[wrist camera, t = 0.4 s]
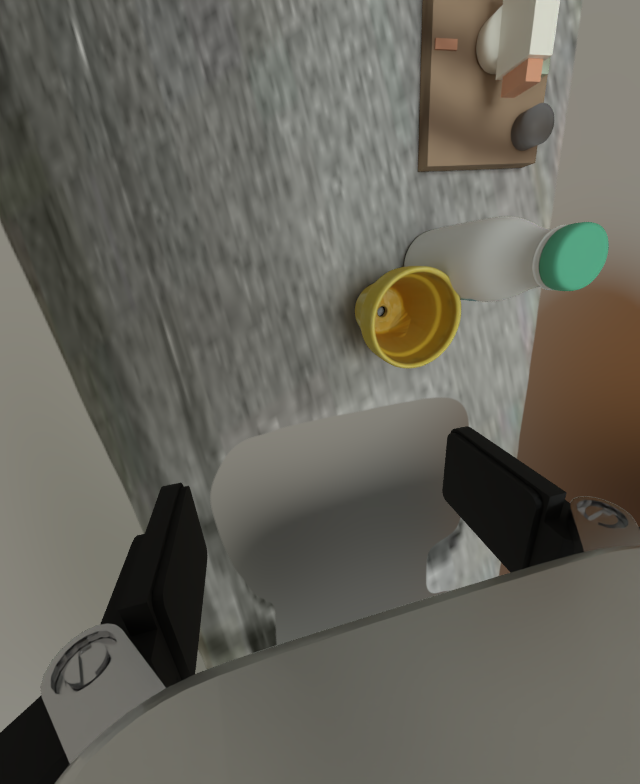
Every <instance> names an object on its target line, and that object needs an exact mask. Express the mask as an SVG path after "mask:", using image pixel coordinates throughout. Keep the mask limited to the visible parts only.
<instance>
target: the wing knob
mask: <svg viewBox="0 0 640 784" xmlns="http://www.w3.org/2000/svg"><path fill="white" fill-rule="evenodd" d="M559 5H560V0H503V5H502V6H501V7H500V8H499V9H498V10H497V11H496V12H495V13H494V14H493V15H492V16H491V17H490V18H489V19H488V20H487V21H486V22H485V23H484V25H483V26H482V28H481V30H480V32H479V34H478V38H477V44H476V53H477V58H478V62H479V64H480V66H481V67H482V69H483V70H484V71H485V72H487V73H489V74H496V79H495V80H502V90H501V98H515V97H517V96H518V95H520V94H521V93H523V92H525V91H526V90H528V89H529V88H531V87H533V86H534V85H536V84H537V83H539V82H540V80H541V73H542V66H543V61H545V60H546V59H548V58H549V57H551V56H552V53H553V46H554V39H555V32H556V25H557V19H558V12H559Z"/></svg>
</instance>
